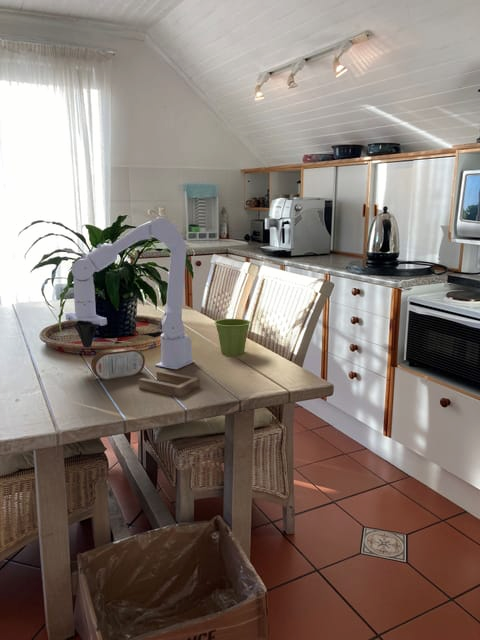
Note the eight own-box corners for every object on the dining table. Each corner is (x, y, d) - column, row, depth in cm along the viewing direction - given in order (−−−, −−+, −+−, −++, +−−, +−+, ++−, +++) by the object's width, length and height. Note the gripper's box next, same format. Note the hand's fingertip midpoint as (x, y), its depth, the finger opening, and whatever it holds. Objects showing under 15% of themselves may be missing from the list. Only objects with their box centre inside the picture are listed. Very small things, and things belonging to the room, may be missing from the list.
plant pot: (257, 354, 174) (257, 320, 171) (237, 362, 164) (237, 327, 162) (228, 348, 180) (228, 316, 178) (207, 356, 170) (206, 322, 168)
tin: (143, 372, 154) (141, 344, 153) (146, 375, 152) (145, 346, 150) (91, 380, 147) (89, 351, 145) (94, 383, 144) (92, 353, 143)
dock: (160, 379, 148) (159, 370, 147) (199, 387, 141) (199, 378, 141) (138, 388, 140) (138, 379, 140) (179, 397, 134) (179, 388, 133)
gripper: (56, 300, 151) (59, 346, 154) (92, 305, 144) (95, 353, 147) (75, 297, 157) (77, 341, 160) (111, 301, 150) (113, 347, 153)
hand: (87, 346), depth 154 cm, fingers closed
